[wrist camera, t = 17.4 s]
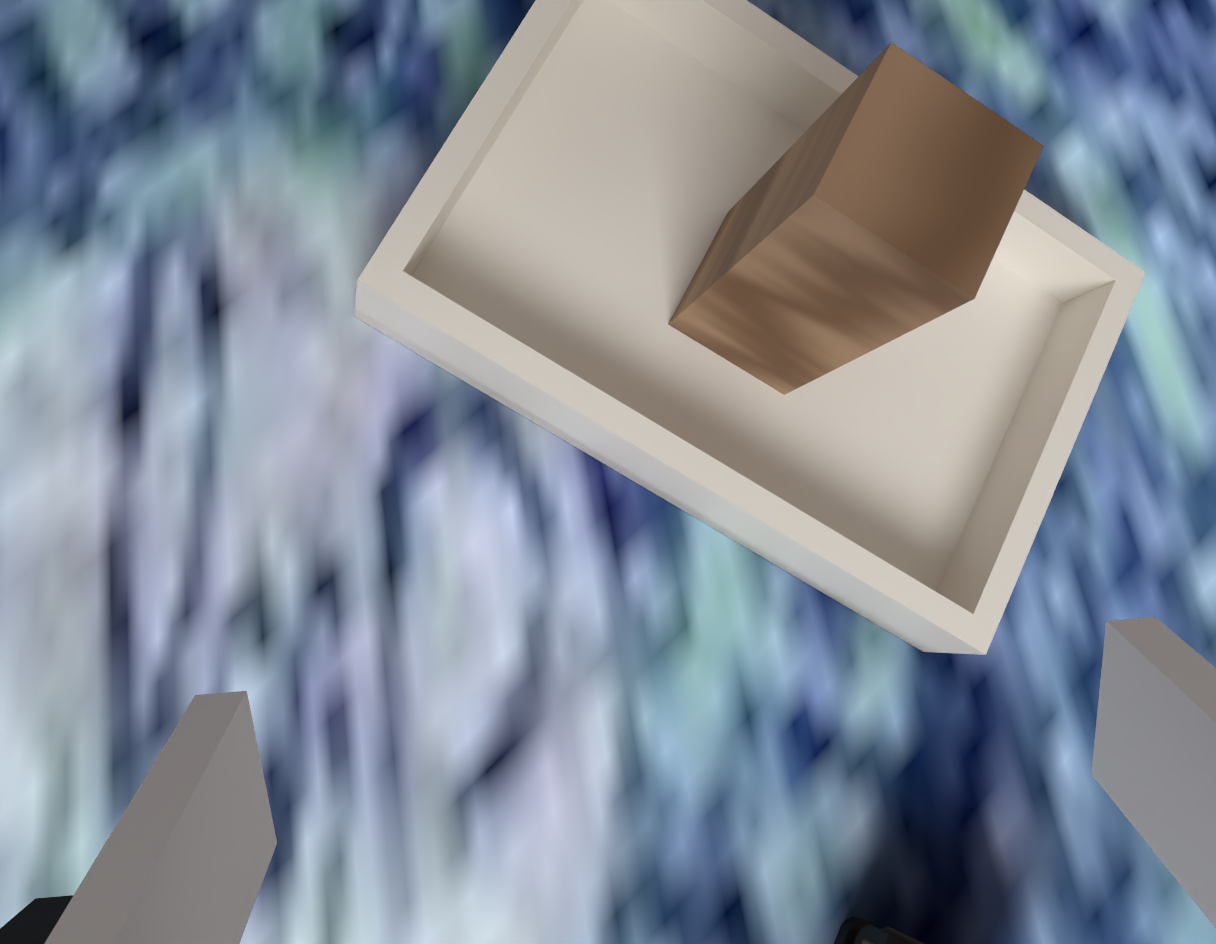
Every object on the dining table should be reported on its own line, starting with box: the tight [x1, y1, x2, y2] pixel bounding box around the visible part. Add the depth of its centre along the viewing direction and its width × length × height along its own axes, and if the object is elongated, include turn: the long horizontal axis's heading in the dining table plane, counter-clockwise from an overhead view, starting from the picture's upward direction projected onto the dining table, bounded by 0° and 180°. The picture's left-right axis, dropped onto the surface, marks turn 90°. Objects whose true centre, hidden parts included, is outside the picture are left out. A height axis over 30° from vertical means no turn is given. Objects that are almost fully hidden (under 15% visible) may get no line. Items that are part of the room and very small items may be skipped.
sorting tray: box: [354, 0, 1146, 655], centre depth 38 cm, size 24×16×4 cm, turn 62°
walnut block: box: [668, 42, 1043, 395], centre depth 33 cm, size 5×5×12 cm
